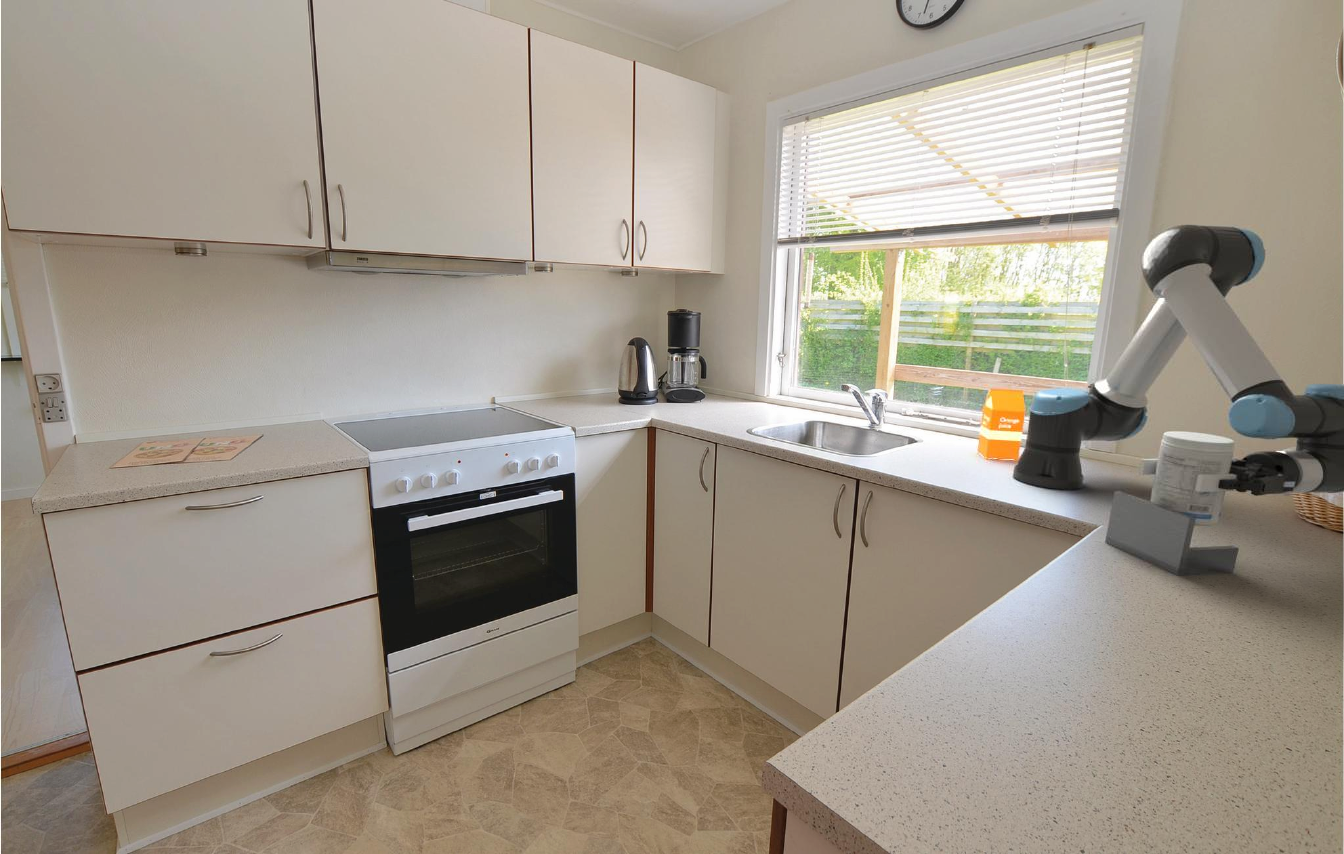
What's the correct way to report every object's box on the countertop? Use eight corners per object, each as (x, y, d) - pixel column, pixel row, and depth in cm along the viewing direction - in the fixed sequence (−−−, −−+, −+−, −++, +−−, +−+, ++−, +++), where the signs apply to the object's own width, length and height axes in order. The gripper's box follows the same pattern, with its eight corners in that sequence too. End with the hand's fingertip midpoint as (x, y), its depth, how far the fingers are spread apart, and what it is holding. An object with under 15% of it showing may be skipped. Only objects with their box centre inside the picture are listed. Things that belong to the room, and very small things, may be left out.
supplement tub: (1165, 506, 111) (1180, 429, 109) (1229, 523, 103) (1248, 440, 100) (1136, 513, 107) (1151, 432, 104) (1200, 531, 99) (1218, 444, 96)
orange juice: (1018, 461, 172) (1028, 392, 168) (985, 459, 173) (995, 390, 169) (1008, 454, 179) (1017, 388, 175) (976, 452, 181) (985, 387, 177)
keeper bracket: (1105, 542, 113) (1114, 491, 111) (1155, 540, 114) (1165, 490, 112) (1177, 575, 99) (1189, 518, 97) (1233, 572, 101) (1246, 516, 99)
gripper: (1350, 513, 96) (1233, 517, 93) (1209, 475, 118) (1109, 477, 114) (1362, 468, 95) (1243, 470, 91) (1217, 438, 116) (1116, 439, 113)
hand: (1169, 474), depth 103 cm, fingers closed on supplement tub, 9 cm apart
